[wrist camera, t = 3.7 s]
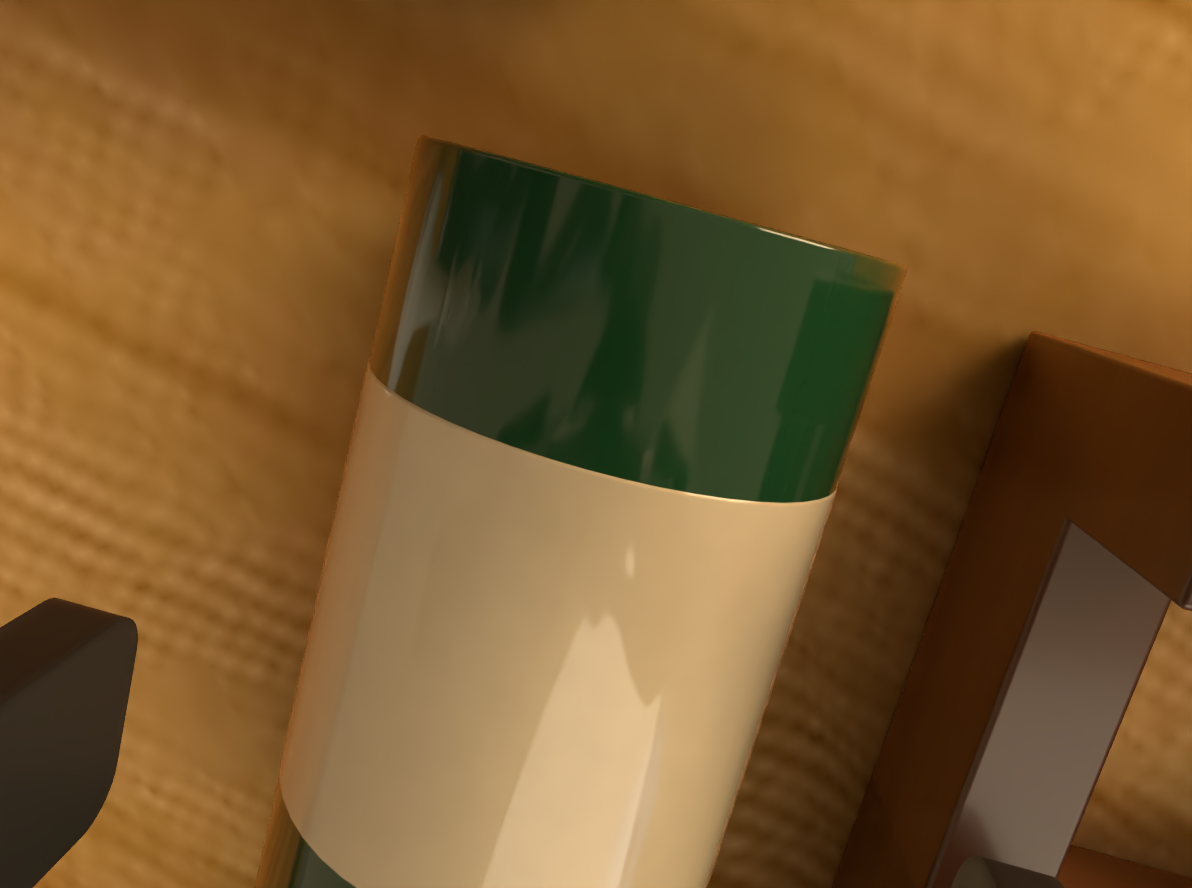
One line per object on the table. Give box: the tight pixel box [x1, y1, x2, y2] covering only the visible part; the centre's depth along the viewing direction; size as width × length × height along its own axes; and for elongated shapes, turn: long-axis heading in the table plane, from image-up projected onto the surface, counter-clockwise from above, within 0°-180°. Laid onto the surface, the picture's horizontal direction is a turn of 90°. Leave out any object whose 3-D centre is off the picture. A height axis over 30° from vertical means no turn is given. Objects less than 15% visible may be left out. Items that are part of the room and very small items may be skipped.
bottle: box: [255, 135, 907, 888], centre depth 15 cm, size 18×6×6 cm, turn 165°
